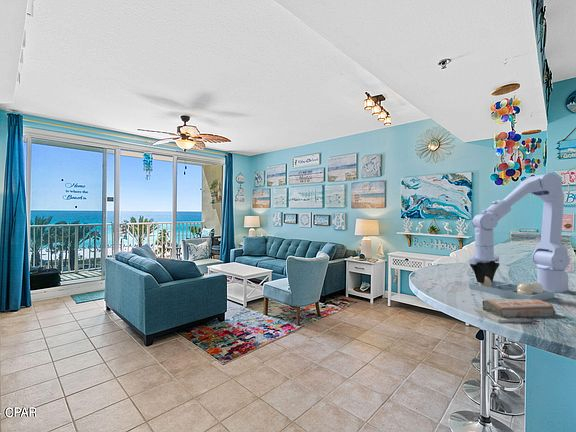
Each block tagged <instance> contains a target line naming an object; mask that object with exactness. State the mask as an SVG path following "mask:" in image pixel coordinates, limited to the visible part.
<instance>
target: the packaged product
mask: <svg viewBox="0 0 576 432" xmlns="http://www.w3.org/2000/svg"><path fill="white" fill-rule="evenodd" d="M481 302H482V306H474V307H473V310H474V312H475V313H477V314H480V315H481V316H484V317H486V318H488V319H490V320H492V321H494V322H496V323H497V324H498V323H499V324H500V323H501V324H502V323H503V324H504V323H542V321H540V320H537V319H534V317H535V318H538V317H539V318H540V317H553V316H555V315H556V310H555V308H554V305H553V304H551V303H550V302H547V301H545V300H542V301H541V300H538V299H512V298H487V299H483V300H482V301H481Z"/></svg>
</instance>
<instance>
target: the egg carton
mask: <svg viewBox="0 0 576 432" xmlns="http://www.w3.org/2000/svg"><path fill="white" fill-rule="evenodd" d="M518 285H519V284H516V283H510V282H505V281H504V282H503V281H500V280H495V279H493V281H492V282H491V286H490V287H486V286H482V285H479V284H478V282H477V281H475V282H470V283H468V287H469V289H470V290H473V291H478V292H483V293H487V294H491V295H494V296H499V297H503V298H506V299H538V300H541V301H545V300H547V301H548V300H550V299H554V298H555V292H553V291H548V290H543V293H537V292H532V295H530V296H529V295H524V294H520V293H517V286H518Z"/></svg>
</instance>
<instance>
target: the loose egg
mask: <svg viewBox="0 0 576 432" xmlns="http://www.w3.org/2000/svg"><path fill="white" fill-rule="evenodd" d="M478 284H479V285H482V286H486V287H490V286H491V280H490V278H488V277H486V276H485V281H484V283H479V282H478Z"/></svg>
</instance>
